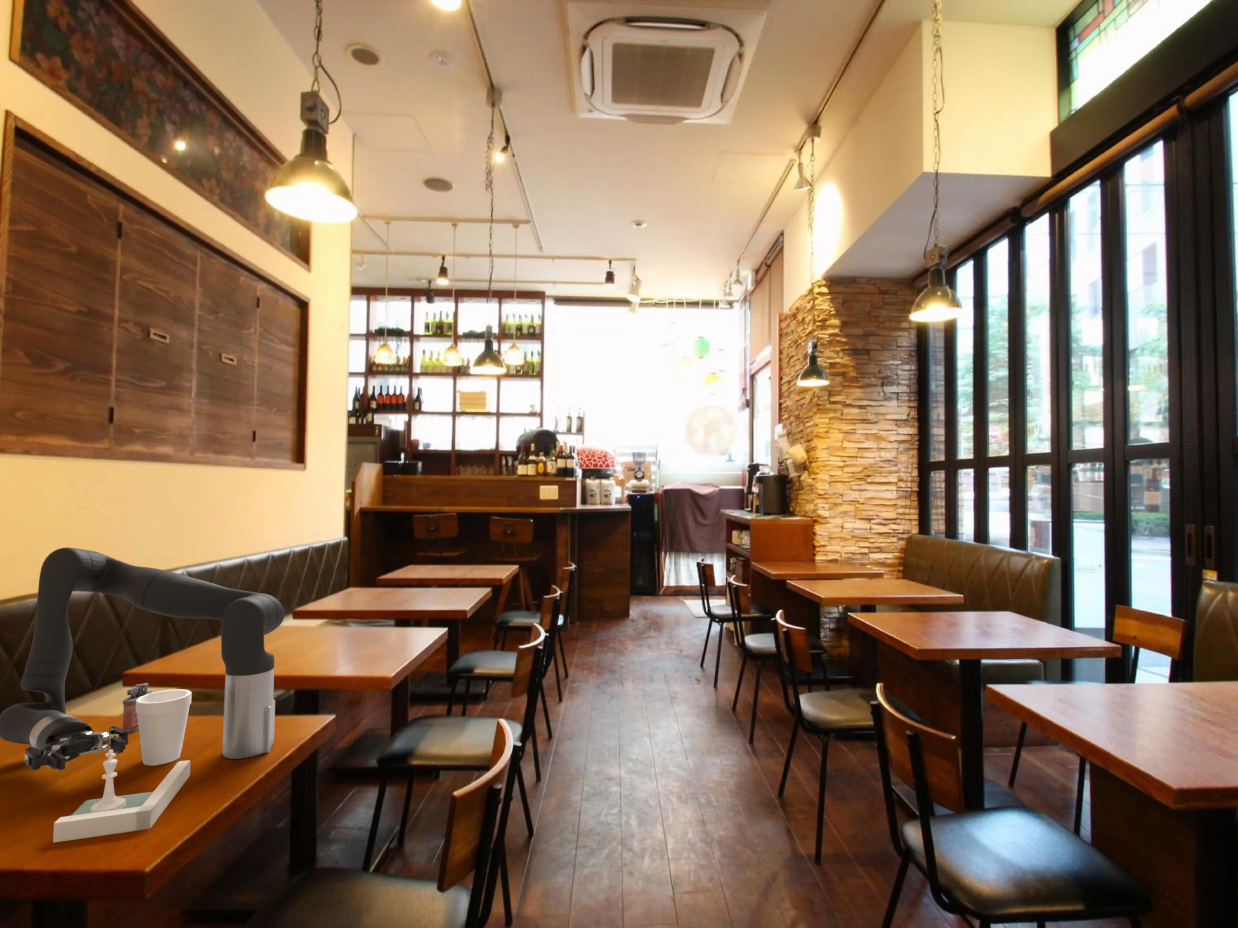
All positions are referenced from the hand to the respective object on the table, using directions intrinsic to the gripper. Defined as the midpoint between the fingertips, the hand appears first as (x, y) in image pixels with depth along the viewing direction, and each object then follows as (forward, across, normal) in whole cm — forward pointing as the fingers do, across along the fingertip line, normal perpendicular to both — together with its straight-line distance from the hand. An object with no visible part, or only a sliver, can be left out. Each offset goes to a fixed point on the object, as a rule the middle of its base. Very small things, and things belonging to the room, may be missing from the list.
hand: (93, 755), depth 114 cm
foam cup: (-10, +15, +8) cm, 20 cm away
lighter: (-35, +20, +8) cm, 41 cm away
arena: (+8, +3, +8) cm, 11 cm away
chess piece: (+8, 0, +8) cm, 11 cm away
